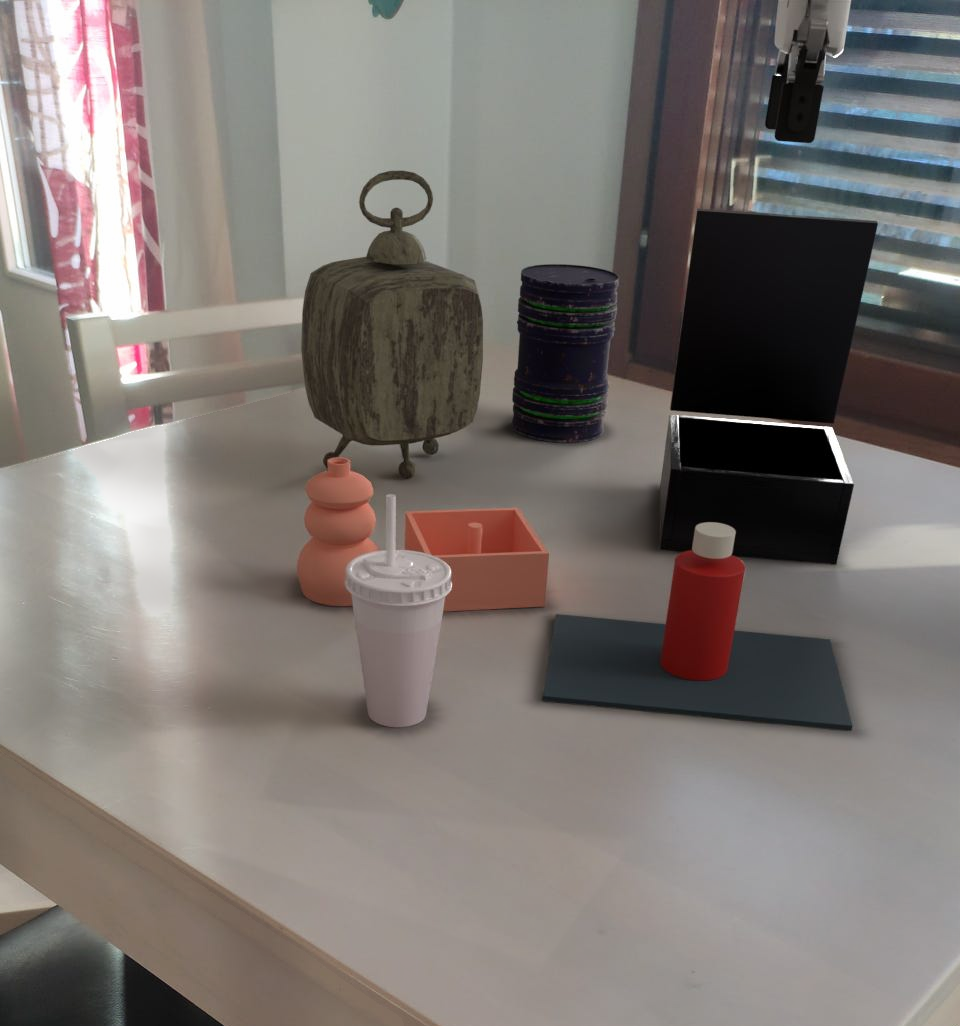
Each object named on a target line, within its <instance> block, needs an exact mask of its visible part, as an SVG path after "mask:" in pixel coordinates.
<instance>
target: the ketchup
mask: <svg viewBox="0 0 960 1026" xmlns="http://www.w3.org/2000/svg"><path fill="white" fill-rule="evenodd" d="M735 533H736V531H735V529H734V528H732V527H731V526H728V525H725V524H722V523H715V522H706V523H700V524H698V525H697V526H696V527H695V532H694V539H693V546H692V550H690V551H681V552H680V553H679V554H677V555H676V556H675V558H674V564H673V570H672V577H671V578H672V579H671V584H670V592H669V598H668V604H667V605H668V606H667V613H666V618H665V624H666V626H665V633H664V640H663V647H662V654H661V661H660V662H661V666H662V667H663V669H664V670H666V671H667V672H668V673H670V674H672V675H674V676H677V677H680V678H683V679H688V680H695V681H708V680H714V679H717V678H720V677H722V676H723V675H724V674H725V673H726V672H727V669H728V663H729V657H730V652H731V646H732V641H733V635H734V630H735V629H736V624H737V619H738V612H739V606H740V601H741V595H742V590H743V585H744V579H745V573H746V564H745V562H744V561H743V560H741V559H740V558H739V557H738V556H733V555H732V551H733V545H734V539H735Z"/></svg>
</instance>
